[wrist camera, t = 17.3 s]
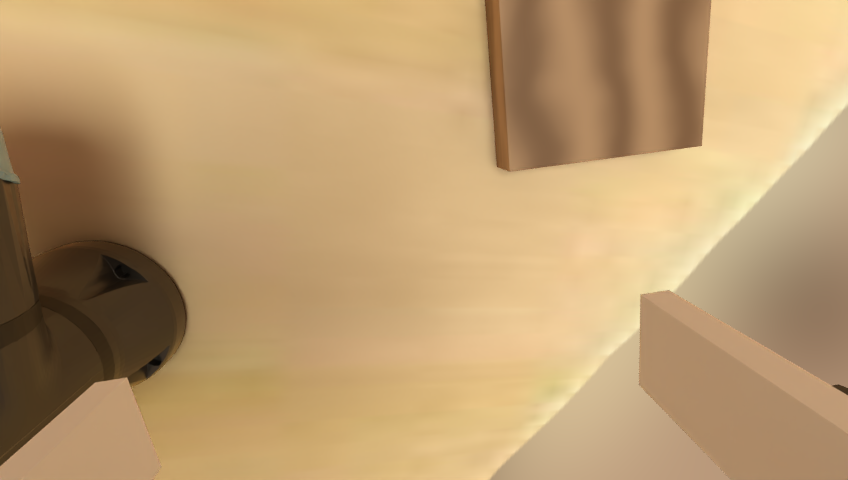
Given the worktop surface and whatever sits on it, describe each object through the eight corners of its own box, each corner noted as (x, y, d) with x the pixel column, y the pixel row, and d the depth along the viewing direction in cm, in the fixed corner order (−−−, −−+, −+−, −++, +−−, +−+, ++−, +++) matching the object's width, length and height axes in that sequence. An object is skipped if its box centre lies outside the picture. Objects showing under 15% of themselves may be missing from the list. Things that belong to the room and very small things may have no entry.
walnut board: (495, 166, 42) (509, 171, 37) (481, -36, 37) (495, -60, 32) (666, 143, 43) (701, 145, 38) (674, -58, 38) (716, -84, 33)
